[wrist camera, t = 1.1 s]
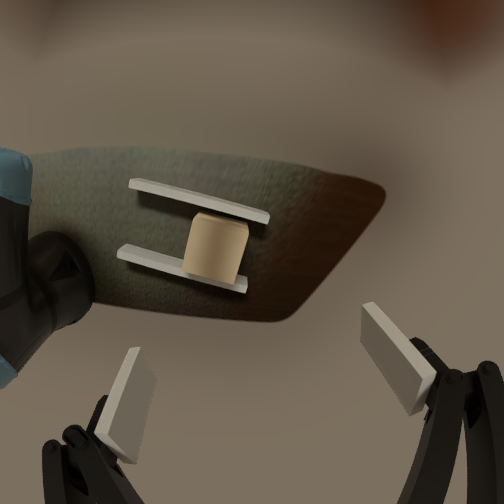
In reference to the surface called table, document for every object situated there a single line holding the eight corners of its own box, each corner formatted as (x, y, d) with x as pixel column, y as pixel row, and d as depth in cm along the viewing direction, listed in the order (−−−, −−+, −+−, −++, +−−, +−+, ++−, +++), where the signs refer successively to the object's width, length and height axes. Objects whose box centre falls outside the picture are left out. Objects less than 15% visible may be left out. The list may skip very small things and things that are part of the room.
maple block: (190, 253, 35) (181, 270, 29) (201, 209, 33) (193, 218, 28) (234, 265, 36) (233, 284, 30) (247, 222, 34) (249, 233, 29)
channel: (125, 250, 34) (116, 257, 32) (138, 177, 32) (130, 179, 29) (244, 283, 37) (245, 293, 34) (267, 212, 34) (269, 216, 31)
